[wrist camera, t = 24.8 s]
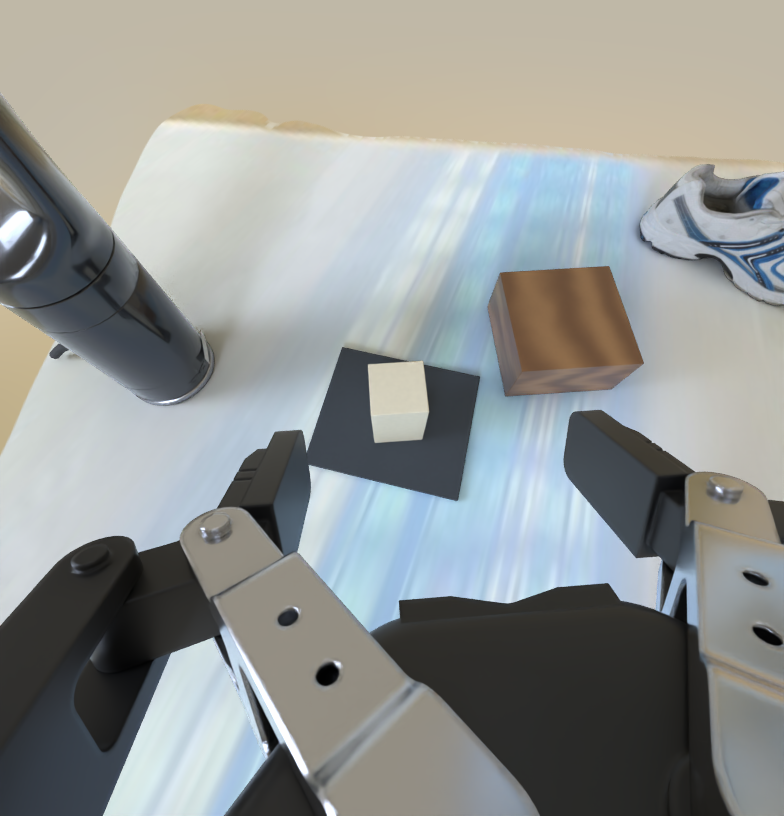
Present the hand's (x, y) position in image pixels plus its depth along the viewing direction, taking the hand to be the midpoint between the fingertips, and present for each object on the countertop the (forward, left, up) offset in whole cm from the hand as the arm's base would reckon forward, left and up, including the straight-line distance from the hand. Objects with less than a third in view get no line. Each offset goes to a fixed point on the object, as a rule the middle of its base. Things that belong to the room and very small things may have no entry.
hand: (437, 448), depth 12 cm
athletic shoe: (+32, +42, -28) cm, 60 cm away
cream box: (-3, +11, -28) cm, 30 cm away
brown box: (+11, +24, -28) cm, 38 cm away
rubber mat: (-4, +11, -28) cm, 30 cm away
